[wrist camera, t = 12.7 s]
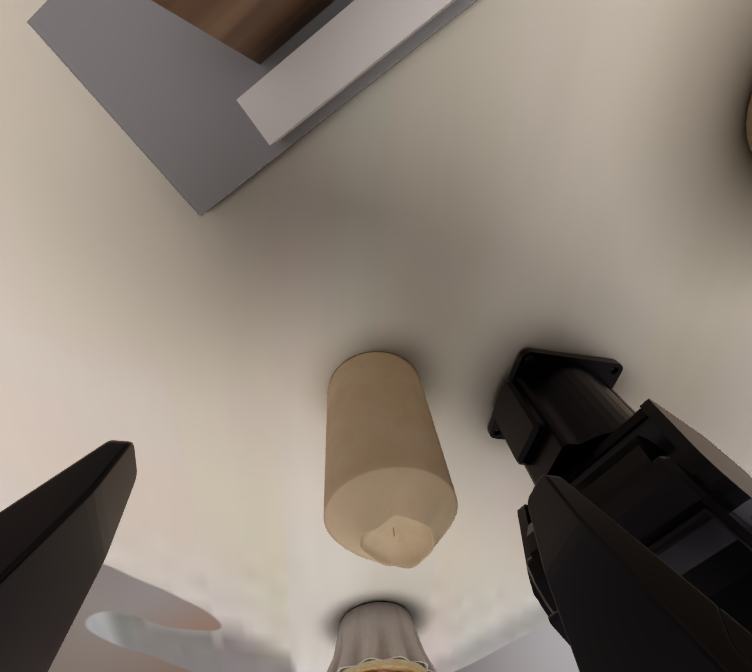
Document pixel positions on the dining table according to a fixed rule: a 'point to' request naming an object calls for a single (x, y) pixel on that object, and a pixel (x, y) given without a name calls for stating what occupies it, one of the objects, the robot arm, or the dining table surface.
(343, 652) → the cupcake
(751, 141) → the plant pot
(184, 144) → the board
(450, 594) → the dining table surface
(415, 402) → the candle
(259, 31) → the door
